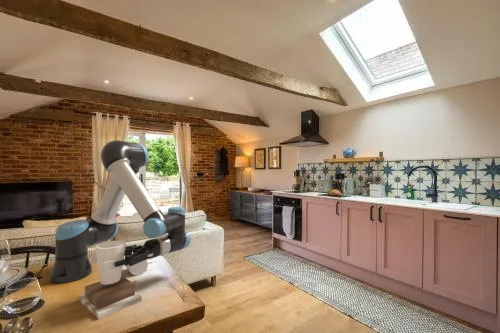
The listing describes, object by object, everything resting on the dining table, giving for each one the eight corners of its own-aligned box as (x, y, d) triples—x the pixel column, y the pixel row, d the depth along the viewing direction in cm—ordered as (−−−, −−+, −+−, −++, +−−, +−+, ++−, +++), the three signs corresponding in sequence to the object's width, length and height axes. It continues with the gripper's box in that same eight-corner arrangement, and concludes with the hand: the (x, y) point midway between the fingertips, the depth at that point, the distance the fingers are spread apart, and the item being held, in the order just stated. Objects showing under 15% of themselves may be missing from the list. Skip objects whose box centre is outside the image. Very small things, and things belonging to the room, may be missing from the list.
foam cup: (95, 289, 80) (96, 250, 81) (94, 279, 88) (94, 243, 88) (127, 281, 86) (127, 245, 86) (123, 272, 93) (123, 239, 94)
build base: (78, 300, 87) (79, 284, 87) (119, 285, 98) (119, 272, 98) (98, 319, 76) (98, 301, 76) (141, 300, 87) (141, 285, 87)
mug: (129, 277, 105) (129, 259, 105) (123, 270, 113) (123, 253, 113) (156, 270, 113) (157, 253, 113) (149, 264, 121) (150, 248, 121)
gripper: (171, 262, 94) (110, 283, 77) (143, 250, 108) (85, 266, 90) (172, 243, 94) (111, 259, 77) (143, 234, 108) (85, 246, 90)
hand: (97, 263), depth 84 cm, fingers closed on foam cup, 9 cm apart
